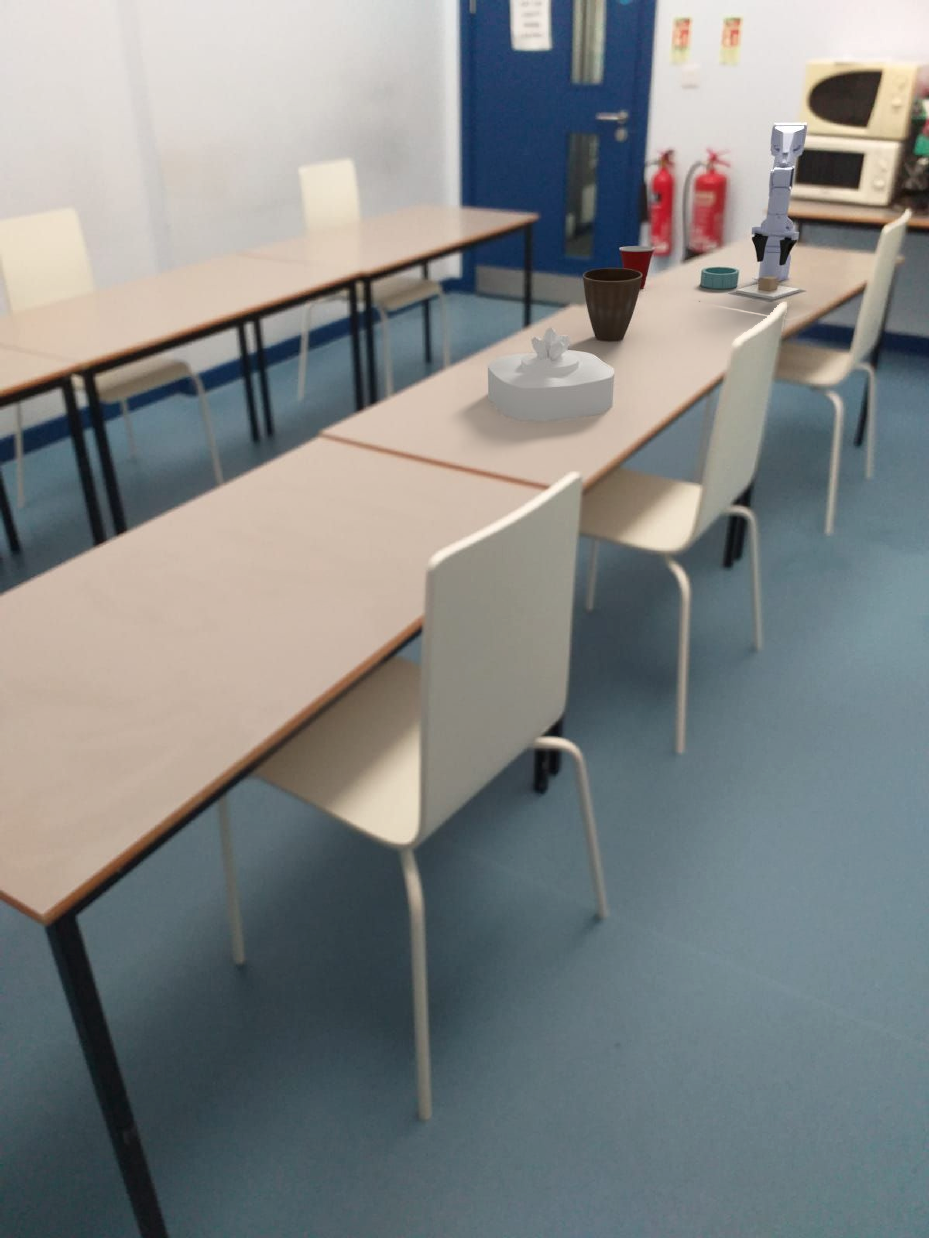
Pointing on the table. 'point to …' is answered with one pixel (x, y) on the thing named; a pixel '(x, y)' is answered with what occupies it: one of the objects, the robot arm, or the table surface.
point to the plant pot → (611, 300)
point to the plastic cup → (637, 259)
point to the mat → (764, 298)
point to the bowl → (719, 277)
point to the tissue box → (550, 382)
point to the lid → (767, 288)
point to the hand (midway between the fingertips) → (771, 263)
